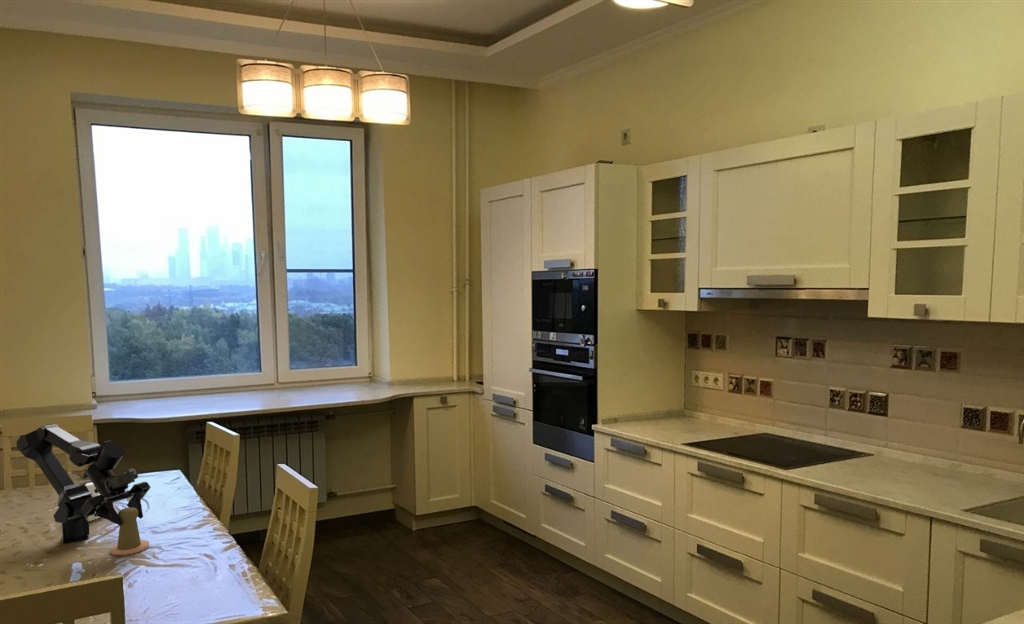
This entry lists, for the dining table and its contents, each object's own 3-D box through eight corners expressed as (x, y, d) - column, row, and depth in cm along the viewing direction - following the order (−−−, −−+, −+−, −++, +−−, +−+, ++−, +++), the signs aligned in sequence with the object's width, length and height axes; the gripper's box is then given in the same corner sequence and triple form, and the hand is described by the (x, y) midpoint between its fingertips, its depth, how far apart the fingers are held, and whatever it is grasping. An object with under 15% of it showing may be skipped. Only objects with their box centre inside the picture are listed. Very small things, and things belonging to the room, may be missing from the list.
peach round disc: (112, 558, 195) (112, 555, 195) (108, 548, 203) (107, 545, 203) (152, 549, 201) (152, 546, 201) (146, 540, 209) (146, 537, 209)
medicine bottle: (72, 520, 229) (71, 484, 229) (93, 513, 236) (91, 478, 236) (88, 522, 227) (86, 486, 226) (108, 515, 233) (106, 480, 233)
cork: (126, 551, 198) (124, 513, 198) (112, 547, 201) (111, 510, 200) (145, 544, 203) (144, 506, 203) (132, 540, 206) (130, 504, 206)
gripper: (85, 470, 194) (114, 513, 190) (145, 454, 211) (172, 494, 207) (68, 495, 198) (96, 538, 194) (128, 478, 215) (155, 517, 211)
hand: (131, 521), depth 201 cm, fingers open, 6 cm apart
